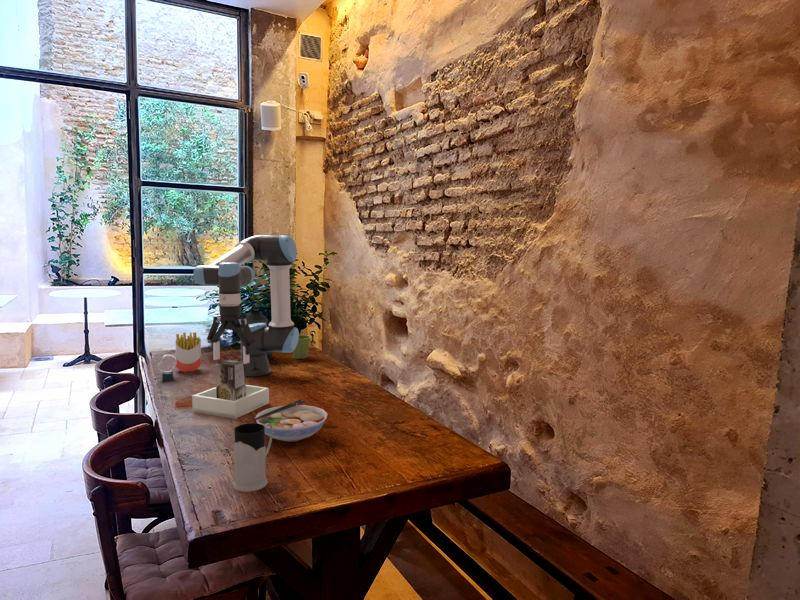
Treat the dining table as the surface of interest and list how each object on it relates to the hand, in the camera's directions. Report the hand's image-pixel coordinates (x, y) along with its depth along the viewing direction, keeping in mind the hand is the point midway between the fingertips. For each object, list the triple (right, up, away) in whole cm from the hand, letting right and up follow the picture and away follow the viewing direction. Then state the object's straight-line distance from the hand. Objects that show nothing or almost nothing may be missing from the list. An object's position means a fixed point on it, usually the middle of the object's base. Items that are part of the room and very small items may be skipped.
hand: (231, 361), depth 199 cm
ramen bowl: (+28, -22, -28) cm, 45 cm away
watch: (-41, -13, +39) cm, 58 cm away
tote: (0, -18, +2) cm, 18 cm away
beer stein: (-14, -8, +83) cm, 85 cm away
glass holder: (+25, -25, -57) cm, 67 cm away
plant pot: (+10, -8, +87) cm, 88 cm away
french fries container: (-38, -11, +55) cm, 68 cm away
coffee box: (-1, -16, +2) cm, 17 cm away
